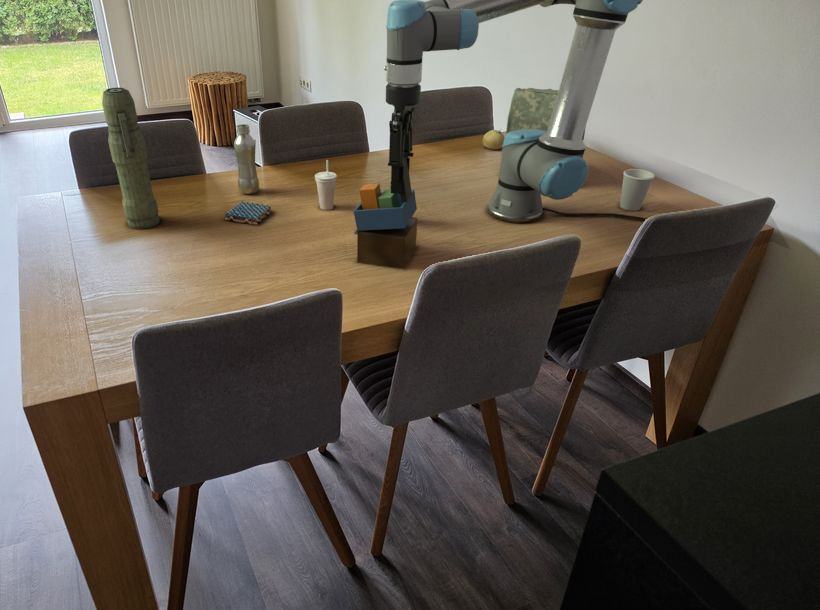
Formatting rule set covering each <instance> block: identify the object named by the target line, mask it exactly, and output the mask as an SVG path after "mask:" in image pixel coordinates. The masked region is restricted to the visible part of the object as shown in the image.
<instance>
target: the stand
mask: <svg viewBox="0 0 820 610" xmlns="http://www.w3.org/2000/svg"><path fill="white" fill-rule="evenodd" d="M418 220H419V219H418V217H415V216H412V218H411V219H410V221H409V223H408V224H407V226H406V228H399V229H381V230H363V231H358V230H357V229H355V230H354V231H353V235H357V238H356V239H357V240H356V241H357V242H356V244H357V245H356V246H357V247H356V248H357V249H356V251H357V253H356V254H357V256H356V261H357V262H356V263H361V264H367V265H374V266H381V267H388V268H392V269H393V268H395V269H402V270H404V269H405V267H406V265H407V263H408V262H409V260H410V258H411V256H412V255H413V253H414V252H415V249H416V247H417V234H418Z"/></svg>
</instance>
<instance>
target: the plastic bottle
mask: <svg viewBox="0 0 820 610" xmlns="http://www.w3.org/2000/svg"><path fill="white" fill-rule="evenodd" d="M250 133H251V130H250V125H249V124H243V123H242V124H237V125H236V134H237V135H236V137H235V139H234V143H233V149H234V153H235V156H236V163H237V173H238V174H237V175H238V178H237V187H238V190H239V191H240V192H241V194H244V195H245V194H246V195H249V194H250V195H251V194H256V192H258V191H259V189H260V180H259V177H258V172H257V166H256V148H257V147H256V145H257V144H256V140H255V139H254V138H253V136H252V135H251V134H250Z"/></svg>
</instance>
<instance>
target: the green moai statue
mask: <svg viewBox="0 0 820 610" xmlns="http://www.w3.org/2000/svg"><path fill="white" fill-rule="evenodd" d="M101 105H102V110H103V115H104V119H105V123H106V125H107V127H108V128H107V132H108V138H107V142H108V143H107V144H108V147H109V151H110V156H111V160H112V162H113V164H114V166H115V170H116V173H117V177H118V182H119V187H120V190H121V195H122V209H123V214H124V217H125V218H126V223H127V226H128V227H129V228H131V229H134V230H145V229H149V228H153V227H155V226H157V225H158V224H160V221H161V220H160V216H159V206H158V202H157V200H156V198H155V197H154V191H153V186H152V182H151V181H152V180H151V177H150V172H149V171H150V170H149V167H148V157H149V156H148V151H147V147H146V143H145V137H144V135H143V134H142V132H141V129H140V126H139V123H138V121H139V119H138V114H137V108H136V104H135V100H134V98H133V96H132V94H131V92H130V91H129V89H127V88H125V87H111V88H106V89H105V90H103V91H102V101H101Z"/></svg>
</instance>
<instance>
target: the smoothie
mask: <svg viewBox="0 0 820 610" xmlns="http://www.w3.org/2000/svg"><path fill="white" fill-rule="evenodd" d="M325 161H326V171H320V172H317V173H315V174H314V180H315V183H316V188H317V194H318V201H319V207H320V209H321V210H324V211H330V210H332V209H333V208H334V203H335V202H334V201H335V191H336V183H337V179H338V175H337V174H336V173H335V172H333V171H329V170H330V169H329V168H330V167H329V159H326V160H325Z"/></svg>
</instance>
